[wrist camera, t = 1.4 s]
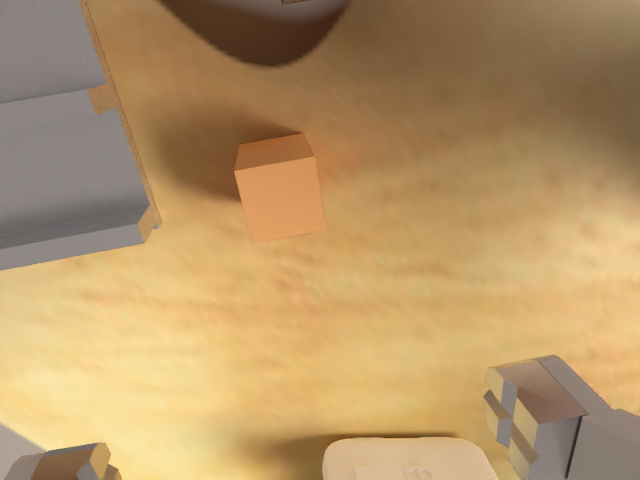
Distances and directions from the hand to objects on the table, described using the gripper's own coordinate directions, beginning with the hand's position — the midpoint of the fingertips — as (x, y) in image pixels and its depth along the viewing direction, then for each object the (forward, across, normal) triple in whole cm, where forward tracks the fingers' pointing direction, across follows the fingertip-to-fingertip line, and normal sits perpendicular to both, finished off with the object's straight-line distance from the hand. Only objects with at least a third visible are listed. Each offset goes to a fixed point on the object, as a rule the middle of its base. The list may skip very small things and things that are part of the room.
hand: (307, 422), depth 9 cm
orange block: (+20, -1, 0) cm, 20 cm away
